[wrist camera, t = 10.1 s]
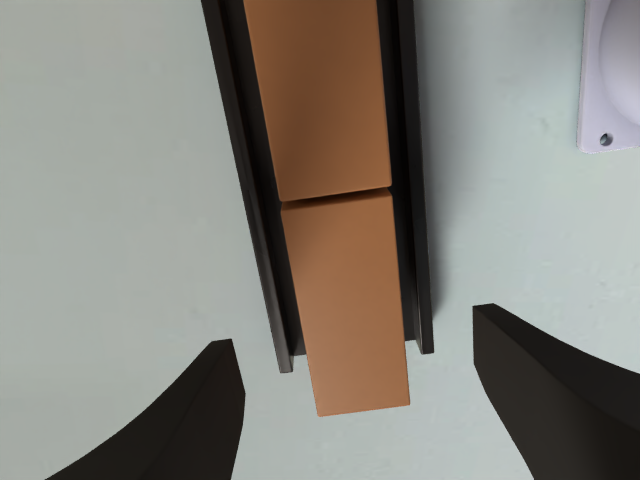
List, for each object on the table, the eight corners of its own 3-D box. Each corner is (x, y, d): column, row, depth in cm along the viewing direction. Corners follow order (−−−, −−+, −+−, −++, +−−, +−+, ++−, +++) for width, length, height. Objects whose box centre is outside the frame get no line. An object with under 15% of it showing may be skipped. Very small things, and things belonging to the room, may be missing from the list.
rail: (397, -106, 15) (406, -125, 14) (426, 333, 22) (434, 353, 20) (194, -74, 15) (181, -88, 14) (282, 353, 22) (280, 374, 20)
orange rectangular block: (370, 161, 18) (392, 194, 13) (387, 330, 21) (410, 405, 16) (287, 173, 18) (280, 211, 14) (315, 340, 21) (318, 417, 16)
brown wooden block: (347, -80, 15) (364, -145, 10) (370, 155, 18) (392, 186, 13) (247, -64, 15) (220, -121, 11) (287, 167, 18) (279, 203, 13)
